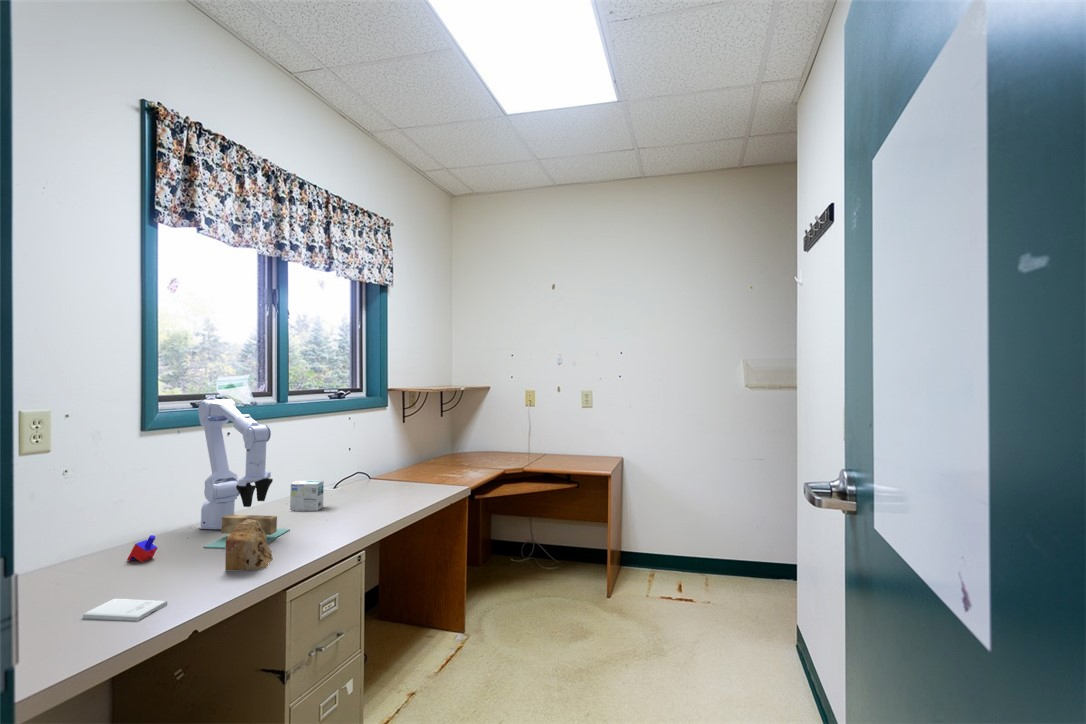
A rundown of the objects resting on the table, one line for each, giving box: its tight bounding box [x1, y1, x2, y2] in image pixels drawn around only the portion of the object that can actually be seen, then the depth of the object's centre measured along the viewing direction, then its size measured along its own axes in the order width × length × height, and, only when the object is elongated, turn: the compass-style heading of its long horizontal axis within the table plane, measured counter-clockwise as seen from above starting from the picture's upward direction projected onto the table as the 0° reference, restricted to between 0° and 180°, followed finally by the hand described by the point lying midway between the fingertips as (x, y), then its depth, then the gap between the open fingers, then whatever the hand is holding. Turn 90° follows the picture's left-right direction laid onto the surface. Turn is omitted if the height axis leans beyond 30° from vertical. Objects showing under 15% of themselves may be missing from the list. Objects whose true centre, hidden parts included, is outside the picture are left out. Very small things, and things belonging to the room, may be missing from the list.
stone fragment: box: [224, 519, 274, 571], centre depth 148 cm, size 14×10×15 cm
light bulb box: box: [289, 480, 325, 512], centre depth 207 cm, size 11×7×11 cm, turn 94°
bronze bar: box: [220, 514, 278, 535], centre depth 169 cm, size 16×4×5 cm, turn 88°
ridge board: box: [203, 528, 291, 549], centre depth 169 cm, size 16×20×2 cm
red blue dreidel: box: [126, 534, 158, 563], centre depth 148 cm, size 4×4×8 cm
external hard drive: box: [82, 598, 168, 622], centre depth 117 cm, size 2×8×12 cm
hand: (254, 503), depth 172 cm, fingers open, 7 cm apart
